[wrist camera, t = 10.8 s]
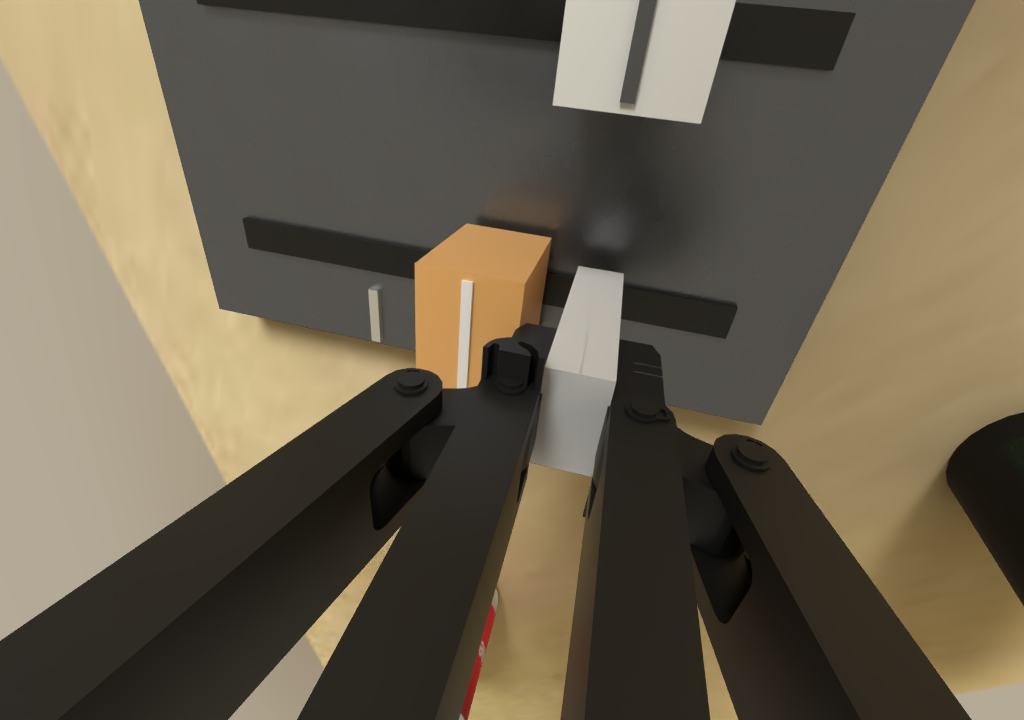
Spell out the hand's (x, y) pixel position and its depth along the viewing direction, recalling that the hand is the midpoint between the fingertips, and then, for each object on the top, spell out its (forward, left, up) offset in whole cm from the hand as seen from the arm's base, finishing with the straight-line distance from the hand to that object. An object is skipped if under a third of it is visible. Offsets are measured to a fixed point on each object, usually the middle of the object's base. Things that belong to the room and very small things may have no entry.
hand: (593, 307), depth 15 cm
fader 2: (-8, 0, -1) cm, 8 cm away
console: (-4, -5, -3) cm, 7 cm away
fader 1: (0, -3, -1) cm, 3 cm away
